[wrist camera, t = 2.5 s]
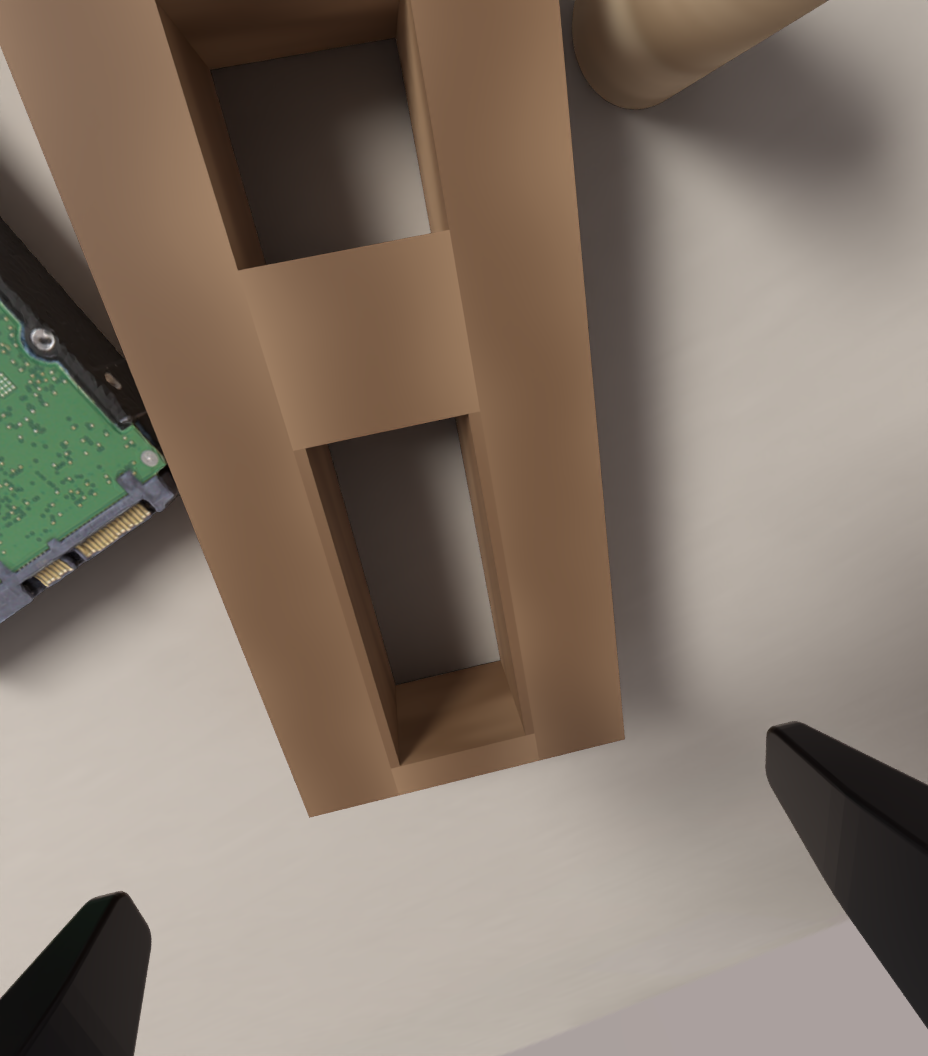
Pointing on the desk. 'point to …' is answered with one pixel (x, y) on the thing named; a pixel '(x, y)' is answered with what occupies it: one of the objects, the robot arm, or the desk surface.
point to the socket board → (353, 361)
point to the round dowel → (669, 42)
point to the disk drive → (64, 435)
